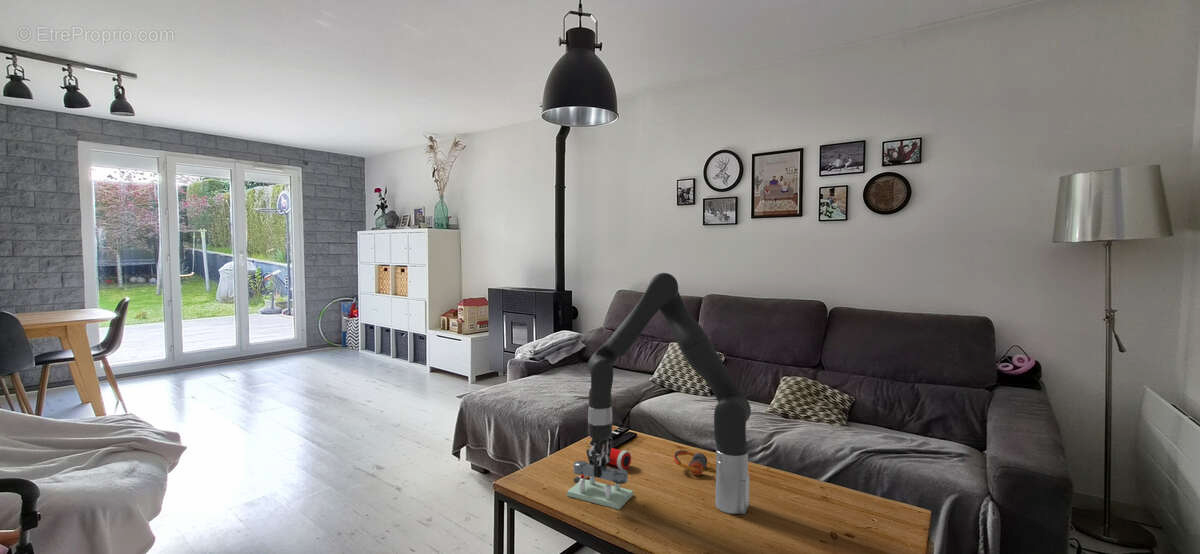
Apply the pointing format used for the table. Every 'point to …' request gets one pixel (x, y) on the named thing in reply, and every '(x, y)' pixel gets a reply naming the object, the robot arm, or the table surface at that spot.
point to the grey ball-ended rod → (606, 472)
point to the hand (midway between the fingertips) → (600, 474)
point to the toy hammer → (614, 461)
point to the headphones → (693, 462)
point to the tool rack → (600, 493)
